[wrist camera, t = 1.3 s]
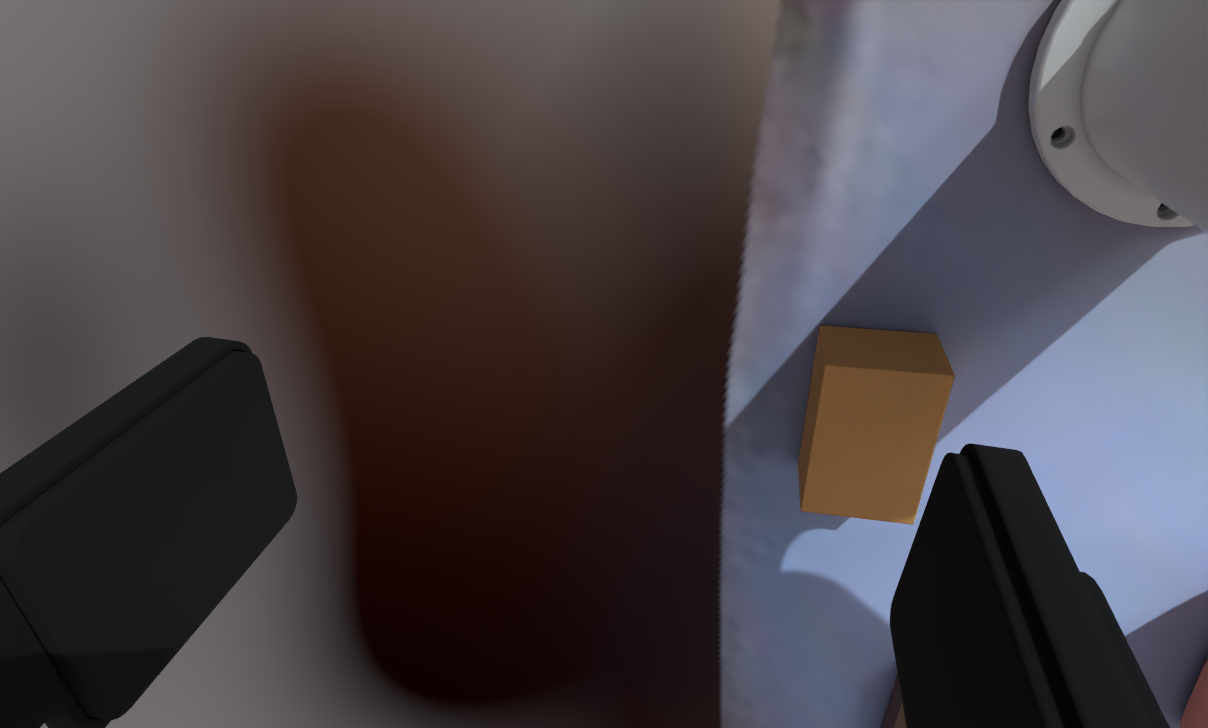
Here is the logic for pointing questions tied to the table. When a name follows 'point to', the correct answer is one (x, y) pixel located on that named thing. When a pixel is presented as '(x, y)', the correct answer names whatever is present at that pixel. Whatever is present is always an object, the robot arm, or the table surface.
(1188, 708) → the pink jerry can
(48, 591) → the robot arm
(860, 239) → the table surface
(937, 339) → the tan rectangular block
